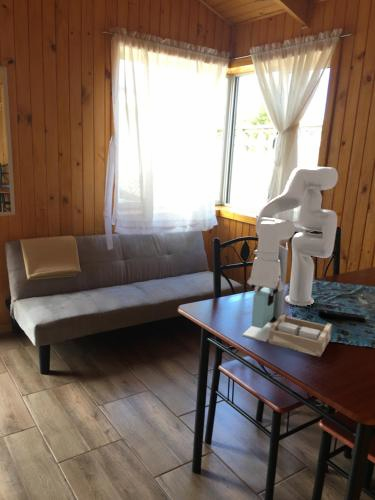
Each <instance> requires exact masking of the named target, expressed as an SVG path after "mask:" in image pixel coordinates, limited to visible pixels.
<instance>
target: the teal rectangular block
mask: <svg viewBox="0 0 375 500" xmlns="http://www.w3.org/2000/svg"><path fill="white" fill-rule="evenodd" d="M269 295H270V290H269V288H266V287H262V288H260V291H258V292H257V293H256V294H255V293H254V294H253V300H252V301H253V303H252V312H251V313H252V316H251V326H254V327H258V328H263V327H264V326H265V325H266V324H267V323H268V322H271V320H272V319H273V318H274V316H273V310H274V302H273V303H272V304H271V305H270V306H268V297H269ZM274 299H275V294H274Z"/></svg>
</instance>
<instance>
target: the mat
mask: <svg viewBox="0 0 375 500" xmlns="http://www.w3.org/2000/svg"><path fill="white" fill-rule="evenodd" d="M273 323H274V322H271V321H269V322H268V323H267V324H266V325H265V326H264V327H263V328H258V327H254V326H252V325H251V326H250V327H248V329H247V330H246V331H244V333H242V336H243V337H246V338H250V339H254V340H257V341H262V342H265V343H266V342H268V341H269V329H270V327H271V326H272V324H273Z"/></svg>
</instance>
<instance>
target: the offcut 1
mask: <svg viewBox="0 0 375 500" xmlns="http://www.w3.org/2000/svg"><path fill="white" fill-rule="evenodd" d="M278 331H280V332H284V333H288V334H292V335H296V336H297V334H298V325H294V324H290V323H286V322H281V323H280V324H279V325H278Z"/></svg>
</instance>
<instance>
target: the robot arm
mask: <svg viewBox="0 0 375 500" xmlns="http://www.w3.org/2000/svg"><path fill="white" fill-rule="evenodd" d="M291 171H292V172H291V173H290V175H289V176H288V177H289V178H288V179H287V182H286V184H285V186H284V188H283V190H282V193H281V194H280V195H278V196H276V197H275V198H273V199H271V201H269V202H267V203H265V205H264V207H262V209H261V210H260V213H259V214H258V217H257V219H256V222H255V232H256V234H257V235H258V241H257V249H256V250H253V254H254V255H256V256H255V257H254V259H253V264H252V267H251V271H250V272H251V274H250V277H249V278H248V280H247V283H246V284H248V285H249V286H250V287H251V288H252V290H253V291H254V294H256V293H257V292H258V291H260V290H261V287H262V288H263V287H266V288H269V290H270V295H269V297H268V306H270V305H271V304H272V303H273V302H274V294H275V293H277V292H279V291H281V290H283V289H284V286H283V284H282V282H281V267H280V260H278V255H279V245H280V241H287V240H290V238H292V239H291V251H292V255H291V256H292V258H291V259H292V260H291V269H290V270H291V271H290V281H289V282H290V283H289V293H288V295H286V296H284V300H285V302H286V303H287V304H289V305H293V306H296V305H297V307H308V306H307V305H310V306H312V305H311V304H313V303H315V300H314V298H313V297H312V288H313V282H314V271H315V263H314V260H313V258H312V257H315V258H316V257H317V258H322V259H323V258H324V259H327V258H330V257H331V256H332V254H333V251H334V248H335V247H334V245H335V240H336V234H337V228H338V215H337V213H336V211H334V210H332V209H325V208H324V209H323V208H322V204H323V203H322V201H323V195H322V194H321V191H326V190H330V189H333V188H334V187H336V185H337V183H338V179H339V174H338V170H337V169H336V168H334V167H329V166H315V165H303V166H302V165H301V166H298V167H295V168H294V169H293V170H291ZM297 208H299V212H298V213H299V215H298V226H299V227H300V228H301V229H303V230H307V231H314V232H315V231H316V232H322V234H316V233H311V232H304V231H303V232H297V233H295V232H296V226H295V223H294V222H293V221H291V220H289V219H286V218H280V217H279V218H278V217H274V216H276V215H277V214H279V213H282V212H285V211H291V210H294V209H297ZM311 256H312V257H311ZM277 286H279V288H276V287H277ZM275 288H276V289H275ZM313 305H314V304H313Z"/></svg>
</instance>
